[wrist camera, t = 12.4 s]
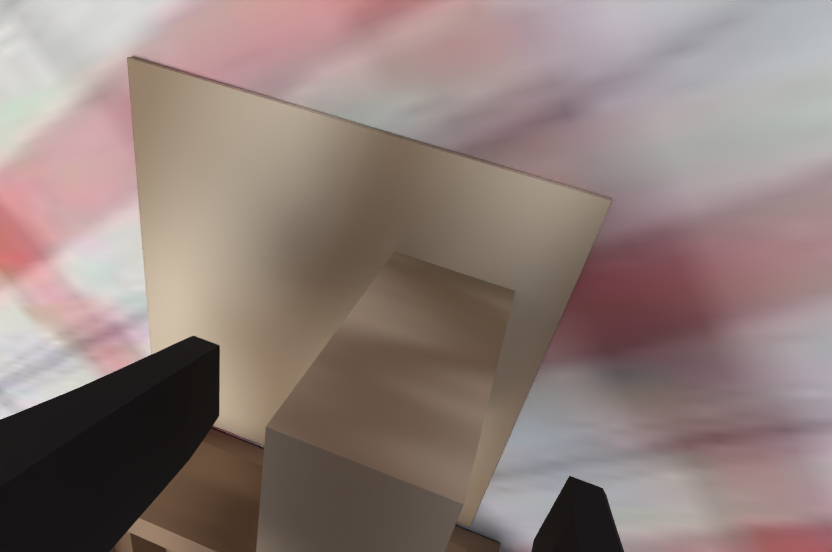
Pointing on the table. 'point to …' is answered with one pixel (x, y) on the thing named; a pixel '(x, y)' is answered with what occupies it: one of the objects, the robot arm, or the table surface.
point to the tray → (224, 506)
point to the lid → (350, 302)
